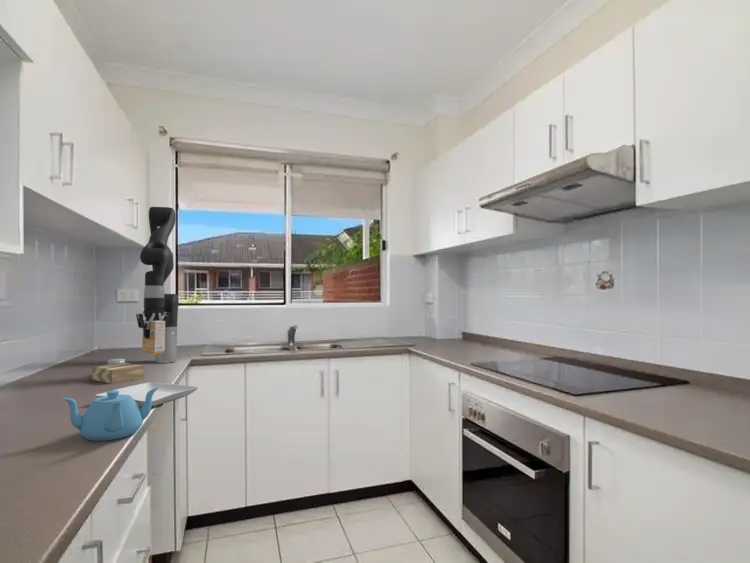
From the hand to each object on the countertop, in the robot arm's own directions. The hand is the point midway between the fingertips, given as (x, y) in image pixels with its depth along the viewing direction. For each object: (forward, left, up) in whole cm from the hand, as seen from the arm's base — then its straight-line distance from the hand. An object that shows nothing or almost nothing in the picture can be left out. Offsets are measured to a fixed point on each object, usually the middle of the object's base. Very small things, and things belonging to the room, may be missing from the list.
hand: (153, 337), depth 177 cm
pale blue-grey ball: (-14, -7, -15) cm, 22 cm away
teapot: (+63, -49, -16) cm, 81 cm away
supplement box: (0, 0, -6) cm, 6 cm away
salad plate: (+38, -24, -16) cm, 48 cm away
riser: (-3, -12, -15) cm, 20 cm away
